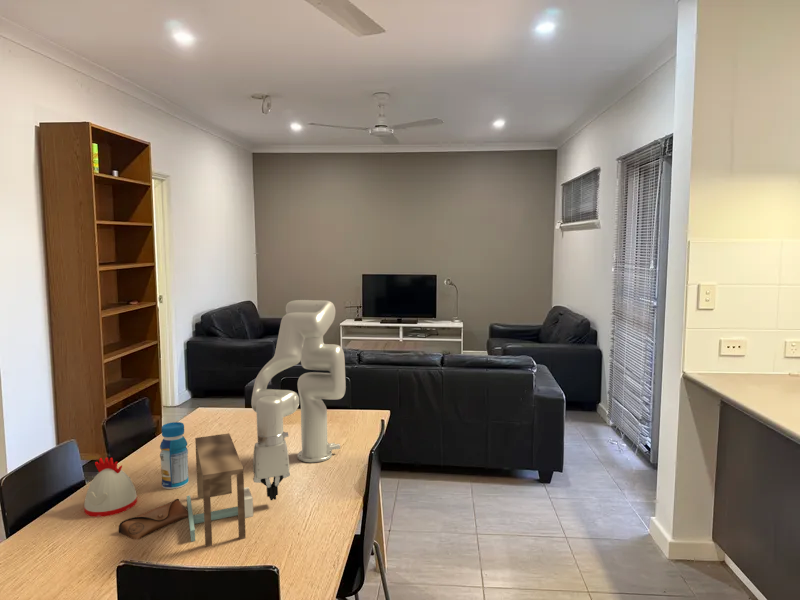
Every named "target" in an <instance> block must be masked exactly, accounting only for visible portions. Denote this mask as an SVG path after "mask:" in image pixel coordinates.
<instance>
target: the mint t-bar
mask: <svg viewBox="0 0 800 600" xmlns="http://www.w3.org/2000/svg"><path fill="white" fill-rule="evenodd" d="M244 503H245V519H246V518H251V517H254V497H253V495H252V493H251V490H250V487H249V486H246V487H244ZM186 510H187V511H188V517H187V518H188V524H189V525H188V528H189V534H190V542H192V543H193V542H195V541H196V528H195V525H196V524H201V523H204V512H202V513H196V514H193V507H192V497H191V495H187V496H186ZM235 516H238V505H237V506H233V507H228V508H223V509H218V510H211V521H214V520H220V519H225V518H230V517H235Z"/></svg>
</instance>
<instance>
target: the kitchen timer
mask: <svg viewBox="0 0 800 600" xmlns="http://www.w3.org/2000/svg"><path fill="white" fill-rule="evenodd" d="M94 465H95V467H96V469H97V471H98V472H97V474H96V475H95V476H94V478H93V479H92V480H91V482H90V483H89V485H88V488H87V491H86V494H85V499H84V504H83V506H84V507H83V510H84V514H85V515H87V516H89V517H95V518H98V517H99V518H102V517H108V516H110V517H111V516H114V515H118V514H120V513H123V511H124V512H126V511H128V510H130V509H131V508H133V507H134V506H135V505H136V504H137V502H138V499H137V498H138V496H137V491H136V488H135V485H134V484H133V481H132V477H131V476H129V475H128V474H127V473H126V472H125V471H124V470H122V468H123V465H120V466H119V467H118V461H115V462H114V459H113V457H110V458H109V457H105V458H104V460H103V457H100V458H99V459H98V461H95V462H94Z"/></svg>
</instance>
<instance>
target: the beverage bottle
mask: <svg viewBox="0 0 800 600" xmlns="http://www.w3.org/2000/svg"><path fill="white" fill-rule="evenodd" d="M184 434H185V424H184V423H183V422H181V421H180V422H179V421H178V422H177V421H173V422H168V423H165V424H163V425H162V426H161V437H162V438H163V439H162V440H161V441H160V446H159V449H160V450H161V451H160V453H159V458H160V468H161V469H160V470H161V471H160V472H161V486H162V488H163V489H167V490H175V489H179V488H180V489H181V488H182V487H185V486H187V485H188V484H189V482H190V480H189V479H190V478H189V460H188V458H189V456H188V455H189V449H188V447H187V446H188V441H187V439H186V437H185V436H184Z"/></svg>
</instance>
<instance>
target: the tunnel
mask: <svg viewBox="0 0 800 600" xmlns="http://www.w3.org/2000/svg"><path fill="white" fill-rule="evenodd" d="M194 439H195V442H194V443H195V460H196V461H195V464H196V465H195V466H196V484H197V485H196V487H197V490H196V491H197V500H202V499H203V513H204V522H203V523H204V543H205V544H204V545H205V548H207V547H212V546H213V532H212V520H211V511H212V505H211V502H212V501H211V498H213V497H218V496H225V495H230V494H232V492H233V491H232V489H233V488H232V485H233V483H232V476H234V475H236V490H237V491H236V494H237V495H236V497H237V506H238V515H237V521H238V522H237V524H238V526H237V527H238V528H237V529H238V539H239V540H243V539H246V538H247V537H246V518H245V503H244V488H245V481H244V480H245V477H244V475H245V474H244V467H243V463H242V462H241V459H240V457H239V454H238V451H237V449H236V446H235V444H234V441H233V439H232V437H231V434H230V433H229V432H228V433H221V434H214V435H209V436H208V435H207V436H206V435H205V436H201V437H195V438H194Z"/></svg>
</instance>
